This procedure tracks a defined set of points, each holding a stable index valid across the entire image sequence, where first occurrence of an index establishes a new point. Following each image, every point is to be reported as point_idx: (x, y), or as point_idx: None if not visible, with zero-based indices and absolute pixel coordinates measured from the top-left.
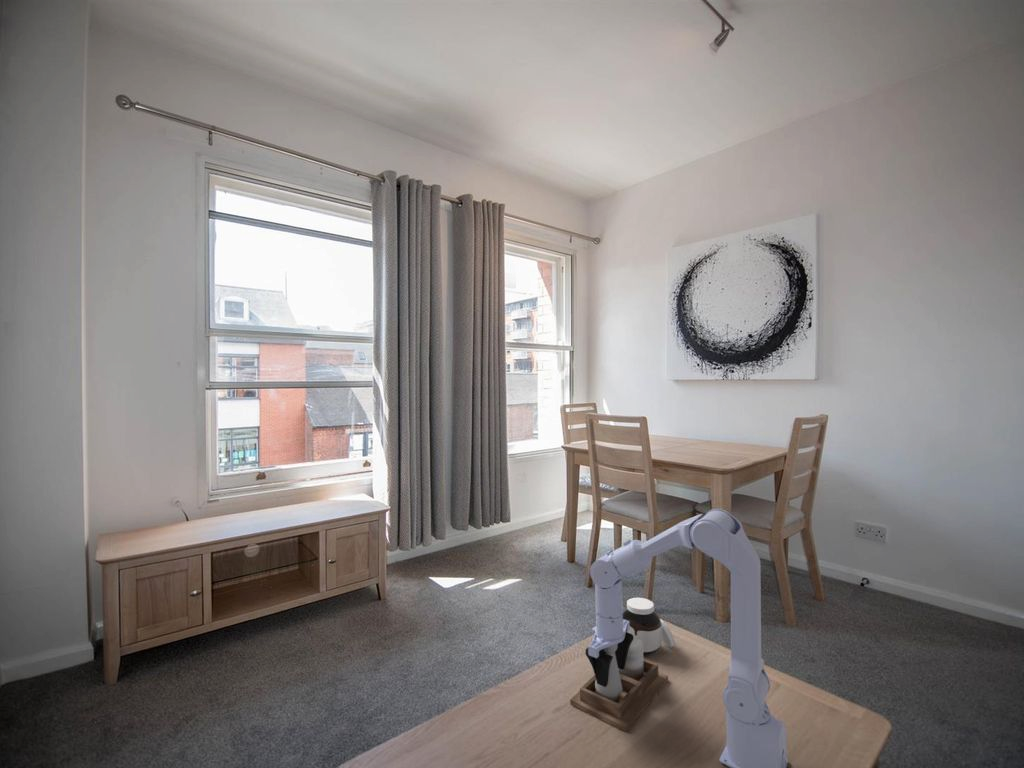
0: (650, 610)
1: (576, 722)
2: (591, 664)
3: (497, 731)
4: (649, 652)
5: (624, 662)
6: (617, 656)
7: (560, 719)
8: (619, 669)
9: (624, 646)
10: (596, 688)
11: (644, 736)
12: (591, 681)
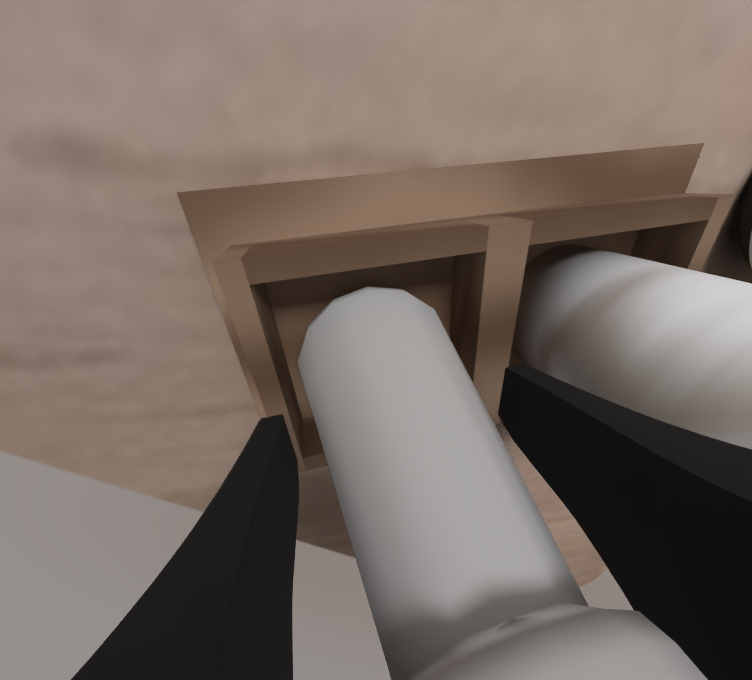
0: None
1: (126, 311)
2: (146, 593)
3: None
4: (748, 265)
5: (530, 460)
6: (559, 440)
7: (40, 236)
8: (546, 307)
9: (643, 595)
10: (307, 336)
11: (311, 478)
12: (344, 265)
